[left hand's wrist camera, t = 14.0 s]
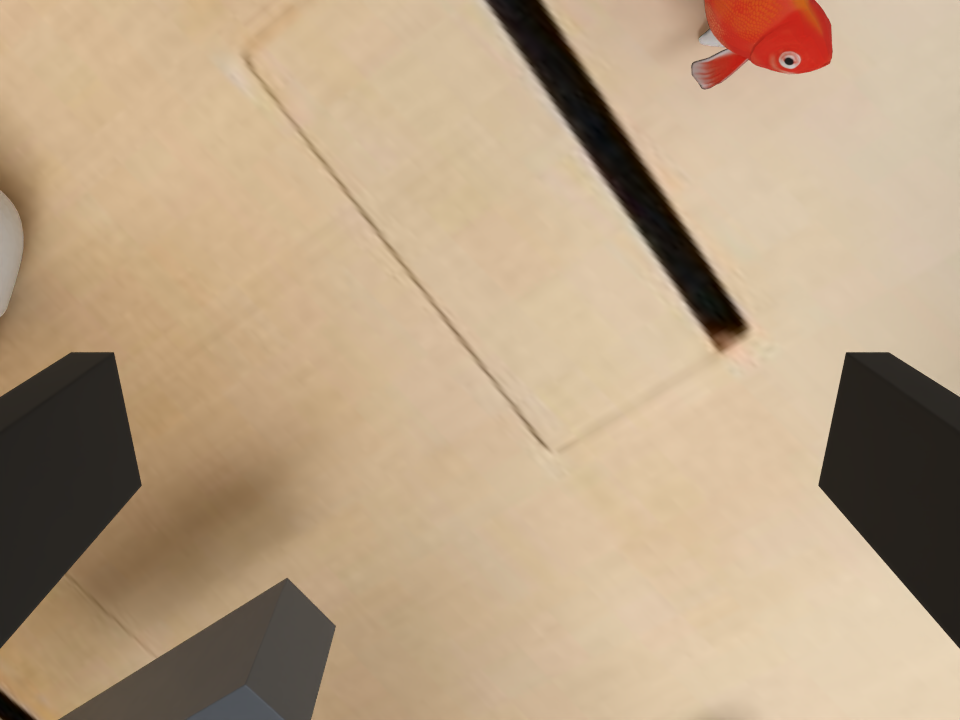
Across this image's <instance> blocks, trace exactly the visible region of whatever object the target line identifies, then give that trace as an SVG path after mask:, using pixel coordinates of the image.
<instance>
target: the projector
mask: <svg viewBox="0 0 960 720" xmlns="http://www.w3.org/2000/svg"><path fill="white" fill-rule="evenodd" d="M23 247H24V236H23V228H22V222H21V219H20V216H19V213H18V211H17V209H16V208H15V206H14V204H13V203H12V202H11V200H10V199H9V198H8V197H7V196H6V195H5V194H4V193H3V192H2V191H1V190H0V317H1V316H2V315H3V314H4V313H5V311H6V310H7V307H8V304H9V301H10V298H11V295H12V292H13V289H14V285H15V282H16V279H17V276H18V272H19V268H20V264H21V260H22V254H23Z"/></svg>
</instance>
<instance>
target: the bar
mask: <svg viewBox="0 0 960 720" xmlns="http://www.w3.org/2000/svg"><path fill="white" fill-rule="evenodd" d="M335 627H336V626H335V625H334V624H333V623H332V622H331V621H330V620H329V619H328V618H327V617H326V616H325V615H324V614H323V613H322V612H321V611H320V610H319V609H318V608H317V607H316V606H315V605H314V604H313V603H312V602H311V601H310V600H309V599H308V598H307V597H306V596H305V595H304V594H303V593H302V592H301V591H300V590H299V589H298V588H297V587H296V586H295V585H294V584H293V583H292V582H291V581H290V580H289V579H288V578H286V579H284V580H283V581H281V582H280V583H278V584H276V585H275V586H273V587H272V588H270V589H268V590H267V591H265V592H263V593H262V594H260V595H259V596H257V597H255V598H254V599H252V600H251V601H249V602H247V603H246V604H244V605H243V606H241V607H239V608H238V609H236V610H234V611H233V612H231V613H230V614H228V615H226V616H225V617H223V618H222V619H220V620H218V621H217V622H215V623H213V624H212V625H210V626H209V627H207V628H205V629H204V630H202V631H201V632H199V633H197V634H196V635H194V636H193V637H191V638H189V639H188V640H186V641H184V642H183V643H181V644H180V645H178V646H176V647H175V648H173V649H172V650H170V651H168V652H167V653H165V654H164V655H162V656H160V657H159V658H157V659H155V660H154V661H152V662H151V663H149V664H147V665H146V666H144V667H143V668H141V669H139V670H138V671H136V672H134V673H133V674H131V675H130V676H128V677H126V678H125V679H123V680H122V681H120V682H118V683H117V684H115V685H114V686H112V687H110V688H109V689H107V690H105V691H104V692H102V693H101V694H99V695H97V696H96V697H94V698H93V699H91V700H89V701H88V702H86V703H85V704H83V705H81V706H80V707H78V708H76V709H75V710H73V711H72V712H70V713H68V714H67V715H65V716H64V717H62V718H60V719H59V720H311V717H312V714H313V710H314V706H315V702H316V699H317V695H318V691H319V687H320V684H321V680H322V676H323V672H324V668H325V665H326V661H327V657H328V653H329V650H330V646H331V642H332V638H333V635H334V631H335Z"/></svg>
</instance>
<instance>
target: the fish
mask: <svg viewBox="0 0 960 720" xmlns="http://www.w3.org/2000/svg"><path fill="white" fill-rule="evenodd" d="M705 12H706V17H707V21H708V24H709V27H710V29H709V30H708V31H707V32H706V33H704V34H703V35H702V36H701V37H700V38H699V42H700V43H701V44H702V45H708V46H720V47H726V48H727V49H725V50H723V51H721V52H719V53H717V54H715V55H713V56H711V57H709V58H706V59H703V60H699V61H695V62H693V63H692V66H691V68H692V76H693V77H694V78H695V79H696V81H697V82H698V83H699V85H700V86H701V88H702V89H709V88H711V87H713V86H715V85H716V84H719V83H721V82H723V81H724V80H726V79H727V78H728V77H729V76H731V75H732V74H733V73H734V72H735V71H736V70H737V69H739V68H740V67H741V66H742V65H743V64H744V63H745V62H746V61H747V60H750V61H751V62H752V63H753V64H755V65H757V66H760V67H763V68H767V69H770V70H773V71H777V72H781V73H786V74H800V73H805V72H810V71H814V70H817V69H819V68H822V67H824V66H826V65H828V64H830V61H831V58H832V52H833V51H832V34H831V23H830V21H829V19H828V18H827V16H826V14H825V12H824V11H823V9H822V8H821V7H820V5H819V4H818V3H817V2H816V1H815V0H705Z"/></svg>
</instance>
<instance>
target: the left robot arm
mask: <svg viewBox="0 0 960 720" xmlns="http://www.w3.org/2000/svg"><path fill="white" fill-rule="evenodd" d="M141 486H142V485H141V480H140V475H139V471H138V466H137V461H136V456H135V451H134V447H133V442H132V437H131V432H130V427H129V423H128V418H127V413H126V408H125V403H124V399H123V394H122V389H121V384H120V379H119V375H118V370H117V365H116V360H115V355H114V352H71V353H69V354H68V355H66V356H65V357H63V358H62V359H60V360H58V361H57V362H55V363H54V364H52V365H50V366H49V367H47V368H46V369H44V370H42V371H41V372H39V373H38V374H36V375H35V376H33V377H31V378H30V379H28V380H27V381H25V382H23V383H22V384H20V385H19V386H17V387H15V388H14V389H12V390H11V391H9V392H8V393H6V394H4V395H3V396H1V397H0V648H1V647H2V646H3V645H4V644H5V643H6V641H7V640H8V639H9V638H10V637H11V636H12V634H13V633H14V632H15V631H16V630H17V629H18V628H19V626H20V625H21V624H22V623H23V622H24V621H25V619H26V618H27V617H28V616H29V615H30V614H31V613H32V611H33V610H34V609H35V608H36V607H37V606H38V604H39V603H40V602H41V601H42V600H43V599H44V598H45V596H46V595H47V594H48V593H49V592H50V591H51V589H52V588H53V587H54V586H55V585H56V584H57V583H58V581H59V580H60V579H61V578H62V577H63V576H64V574H65V573H66V572H67V571H68V570H69V569H70V568H71V566H72V565H73V564H74V563H75V562H76V561H77V559H78V558H79V557H80V556H81V555H82V554H83V553H84V551H85V550H86V549H87V548H88V547H89V546H90V544H91V543H92V542H93V541H94V540H95V539H96V538H97V536H98V535H99V534H100V533H101V532H102V531H103V529H104V528H105V527H106V526H107V525H108V524H109V523H110V521H111V520H112V519H113V518H114V517H115V516H116V514H117V513H118V512H119V511H120V510H121V509H122V508H123V506H124V505H125V504H126V503H127V502H128V501H129V499H130V498H131V497H132V496H133V495H134V494H135V493H136V491H137V490H138V489H139V488H140V487H141ZM818 486H819V487H820V488H821V489H822V490H823V491H824V493H825V494H826V495H827V496H828V497H829V498H830V499H831V501H832V502H833V503H834V504H835V505H836V506H837V508H838V509H839V510H840V511H841V512H842V513H843V514H844V516H845V517H846V518H847V519H848V520H849V521H850V523H851V524H852V525H853V526H854V527H855V528H856V529H857V531H858V532H859V533H860V534H861V535H862V536H863V538H864V539H865V540H866V541H867V542H868V543H869V544H870V546H871V547H872V548H873V549H874V550H875V551H876V553H877V554H878V555H879V556H880V557H881V558H882V559H883V561H884V562H885V563H886V564H887V565H888V566H889V568H890V569H891V570H892V571H893V572H894V573H895V574H896V576H897V577H898V578H899V579H900V580H901V581H902V583H903V584H904V585H905V586H906V587H907V588H908V589H909V591H910V592H911V593H912V594H913V595H914V596H915V598H916V599H917V600H918V601H919V602H920V603H921V604H922V606H923V607H924V608H925V609H926V610H927V611H928V613H929V614H930V615H931V616H932V617H933V618H934V619H935V621H936V622H937V623H938V624H939V625H940V626H941V628H942V629H943V630H944V631H945V632H946V633H947V634H948V636H949V637H950V638H951V639H952V640H953V641H954V643H955V644H956V645H957V646H958V647H959V648H960V397H959V396H957V395H956V394H954V393H952V392H951V391H949V390H948V389H946V388H945V387H943V386H941V385H940V384H938V383H937V382H935V381H933V380H932V379H930V378H929V377H927V376H925V375H924V374H922V373H921V372H919V371H918V370H916V369H914V368H913V367H911V366H910V365H908V364H906V363H905V362H903V361H902V360H900V359H898V358H897V357H895V356H894V355H892V354H891V353H889V352H846V355H845V360H844V365H843V370H842V375H841V379H840V384H839V389H838V394H837V399H836V403H835V408H834V413H833V418H832V423H831V427H830V432H829V437H828V442H827V447H826V451H825V456H824V461H823V466H822V471H821V475H820V480H819V485H818Z"/></svg>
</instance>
